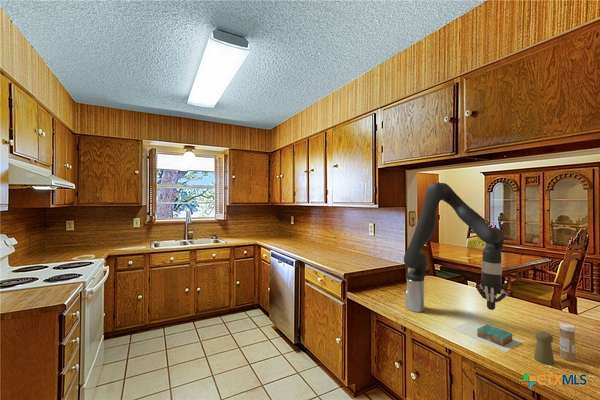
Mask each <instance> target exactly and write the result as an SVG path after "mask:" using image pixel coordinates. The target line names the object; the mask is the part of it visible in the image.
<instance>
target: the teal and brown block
mask: <svg viewBox="0 0 600 400" xmlns="http://www.w3.org/2000/svg"><path fill="white" fill-rule="evenodd" d="M481 326H482V325H481ZM477 336H478V337H480V338H483V339H485V340H488V341H490V342H492V343H495V344H497V345H500V346H502V347H503V346H504V345H506V344H508V343H510V342H512V338H513V332H511V331H508V330H505V329H501V328H499V327H496V326H494V325H491V324H489V323H486V324H485V325H483V326H482V327H480V328H478V329H477Z"/></svg>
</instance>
